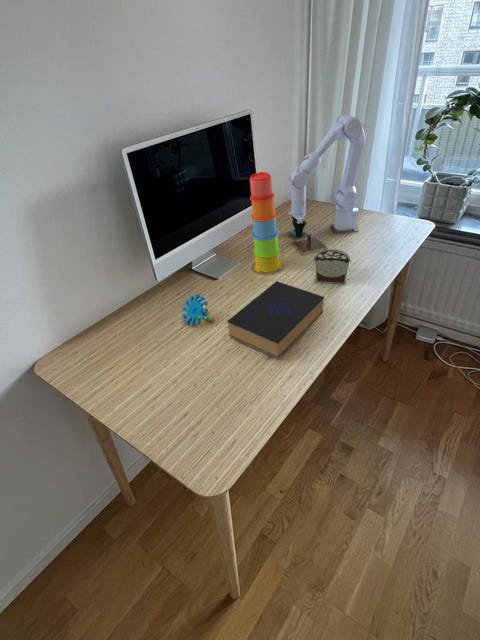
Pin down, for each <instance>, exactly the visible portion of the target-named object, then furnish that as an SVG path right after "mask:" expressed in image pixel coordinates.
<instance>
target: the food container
mask: <svg viewBox="0 0 480 640" xmlns="http://www.w3.org/2000/svg"><path fill="white" fill-rule="evenodd" d="M312 261H313V262H314V265H315V281H316V283H327V284H339V285H345V282H346V278H347V274H348V269H349V264H350V265H352V260H351V257H350V255H349V253H347V252H346V251H344V250H340V249H334V248H333V249H332V248H331V249H330V248H329V249H324V250H320V251H318V252H317V253H315V255H314V257H313V260H312Z"/></svg>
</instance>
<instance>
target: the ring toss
mask: <svg viewBox="0 0 480 640" xmlns="http://www.w3.org/2000/svg"><path fill="white" fill-rule="evenodd" d="M306 235H307V236H306V239H301V240H296V241H293V242H292V243H293V245H295V246H296V247H297V248H298V249H299V250H300V251H301V252H302V253H303V254H304V253H309V252H312V251H317V250H321V249H325V248H327V247H326V245H324V244H323V243H322V242H321V241H319V240H318V239H317V238H316V237H312V234H311V233H308V234H306Z"/></svg>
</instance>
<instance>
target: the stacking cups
mask: <svg viewBox="0 0 480 640" xmlns="http://www.w3.org/2000/svg"><path fill="white" fill-rule="evenodd" d="M249 186H250V196H249V199H250V202H251V212H252V214H251V216H250V217H251V220H252V227H253V231H252V235H251V236H252V237H253V243H254V248H253V251H252V253H253V254H254V256H255V258H254V259H255V264H254V265H253V268H254V270H255V272H257V273H259V274H261V275H271V274H275V273H276V272H275V271H276V270H280V269H281V268H282V263H281V261H280V252H281V247H280V246H279V240H278V238H279V237H278V235H279V230H278V229H277V219H276V217H277V212H276V210H275V193H274V192H273V182H272V175H271V174H270V172H267V171H258V172H254V173H252V174H251V175H250V178H249Z"/></svg>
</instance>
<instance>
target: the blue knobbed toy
mask: <svg viewBox="0 0 480 640" xmlns="http://www.w3.org/2000/svg"><path fill="white" fill-rule="evenodd" d="M188 299H189V300H187V299H186V300H185V301H184V305H185V306H183V307H182V308H181V311H182V312H186V314H185V313H182V315H181V316H182V318H183V319H184V323H185V324H187V325H191V326H193V327H194V326H195V324H196V325H200V324H201V320H202V321H204V322H213V319H212V318H210V317H209V316H208V315H207V313H208V311H209V309H208V308H206V307H207V306H208V305H209V302H208V301H207V300H205V299H206V298H205V296H204V295H200V294H197V293H195V295H190V296H189V297H188ZM202 301H203V302H202ZM203 306H206V307H203ZM187 318H188V319H187Z"/></svg>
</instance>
